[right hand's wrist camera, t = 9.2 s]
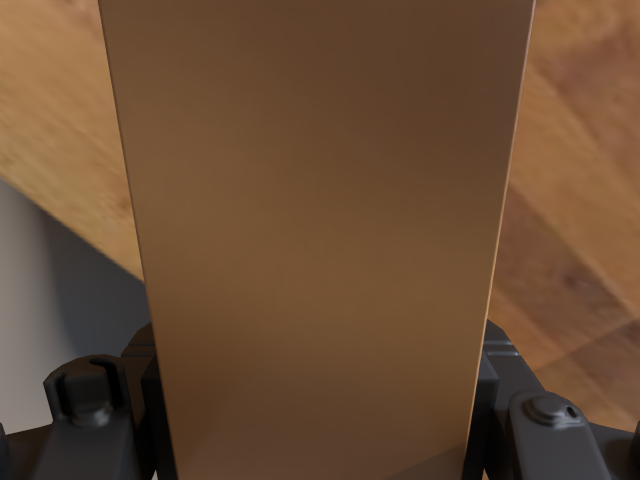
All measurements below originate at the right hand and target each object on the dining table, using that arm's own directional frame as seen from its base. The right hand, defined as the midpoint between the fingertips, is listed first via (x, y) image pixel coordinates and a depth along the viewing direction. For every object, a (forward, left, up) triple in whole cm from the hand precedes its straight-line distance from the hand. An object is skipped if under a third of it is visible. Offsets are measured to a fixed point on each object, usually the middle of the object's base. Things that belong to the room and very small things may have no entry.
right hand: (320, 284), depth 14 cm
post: (-15, -26, -1) cm, 30 cm away
